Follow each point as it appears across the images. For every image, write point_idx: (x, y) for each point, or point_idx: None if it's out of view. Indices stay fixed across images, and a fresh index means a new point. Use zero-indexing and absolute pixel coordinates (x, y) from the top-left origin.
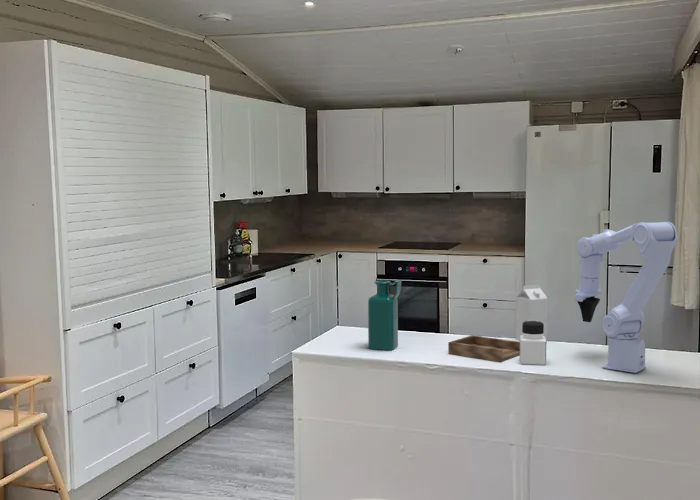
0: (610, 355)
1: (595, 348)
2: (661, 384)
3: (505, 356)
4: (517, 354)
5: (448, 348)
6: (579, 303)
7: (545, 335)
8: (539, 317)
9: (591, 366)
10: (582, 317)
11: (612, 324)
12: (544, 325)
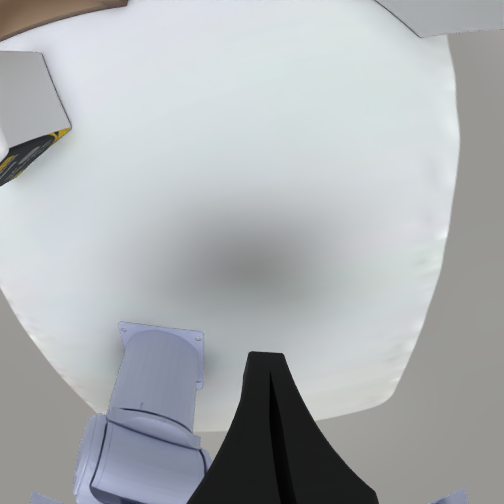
0: (122, 363)
1: (397, 238)
2: (87, 403)
3: (3, 32)
4: (74, 13)
5: None
6: (199, 487)
7: (434, 27)
8: None
9: (98, 297)
10: (248, 373)
11: (80, 455)
12: (463, 16)
